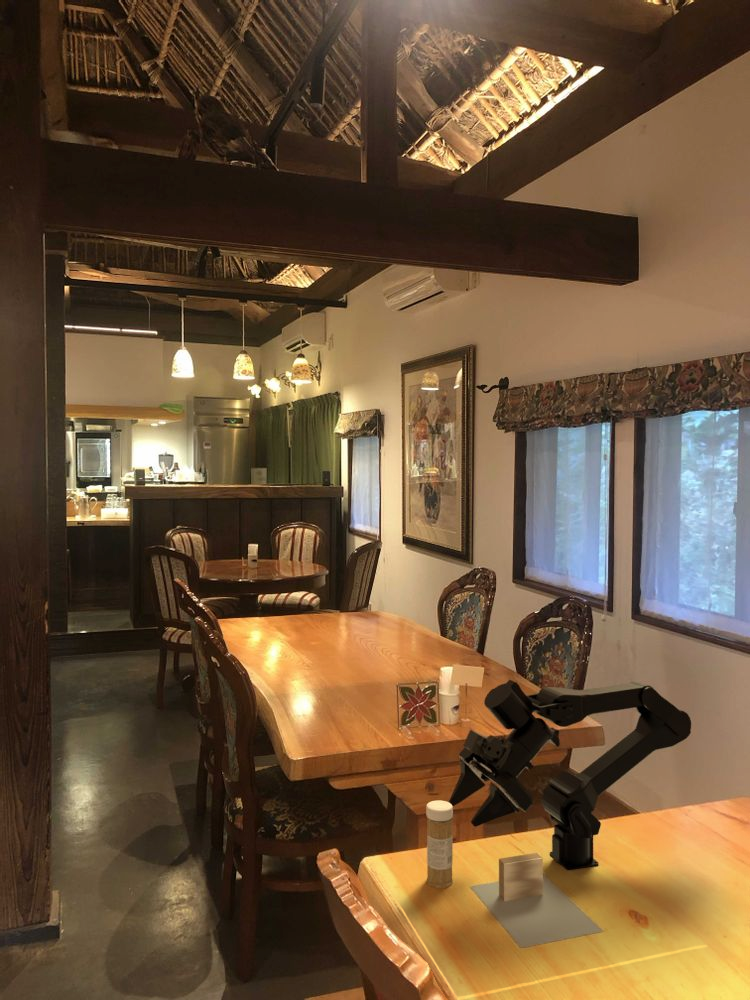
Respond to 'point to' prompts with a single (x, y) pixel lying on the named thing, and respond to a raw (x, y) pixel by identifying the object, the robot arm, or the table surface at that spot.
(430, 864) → the sprinkles bottle
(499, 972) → the table surface
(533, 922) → the slate mat
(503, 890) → the walnut tile
